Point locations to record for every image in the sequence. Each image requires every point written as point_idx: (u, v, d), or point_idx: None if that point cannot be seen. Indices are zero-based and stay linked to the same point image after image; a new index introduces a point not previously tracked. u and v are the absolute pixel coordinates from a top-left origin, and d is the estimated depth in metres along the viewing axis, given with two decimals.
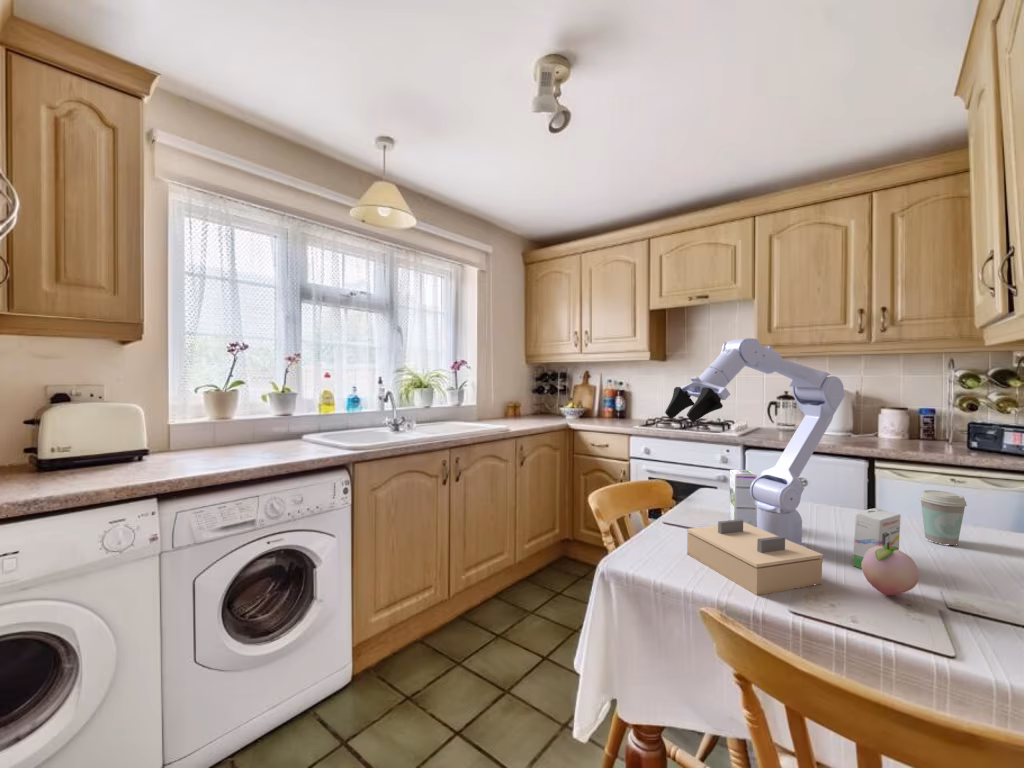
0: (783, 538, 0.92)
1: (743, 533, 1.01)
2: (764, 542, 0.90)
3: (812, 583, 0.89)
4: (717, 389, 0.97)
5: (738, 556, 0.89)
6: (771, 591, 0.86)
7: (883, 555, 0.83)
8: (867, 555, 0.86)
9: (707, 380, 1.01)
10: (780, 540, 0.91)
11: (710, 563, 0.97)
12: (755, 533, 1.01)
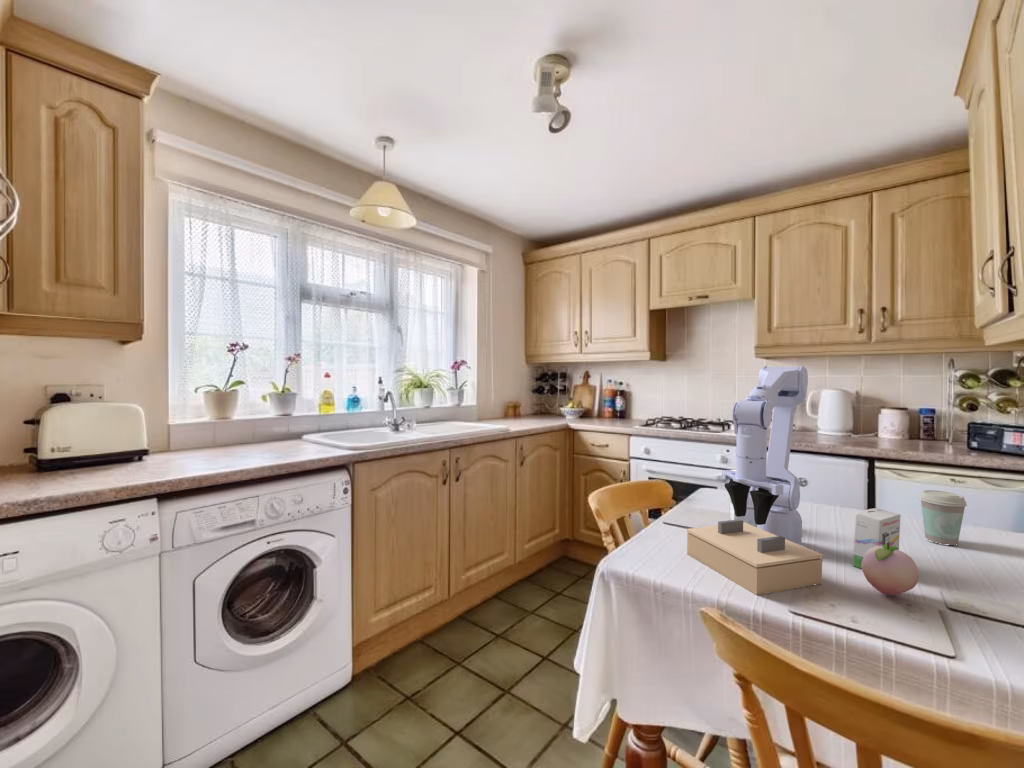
0: (783, 538, 0.92)
1: (743, 533, 1.01)
2: (764, 542, 0.90)
3: (812, 583, 0.89)
4: None
5: (738, 556, 0.89)
6: (771, 591, 0.86)
7: (883, 555, 0.83)
8: (867, 555, 0.86)
9: (749, 476, 0.94)
10: (780, 540, 0.91)
11: (710, 563, 0.97)
12: (755, 533, 1.01)
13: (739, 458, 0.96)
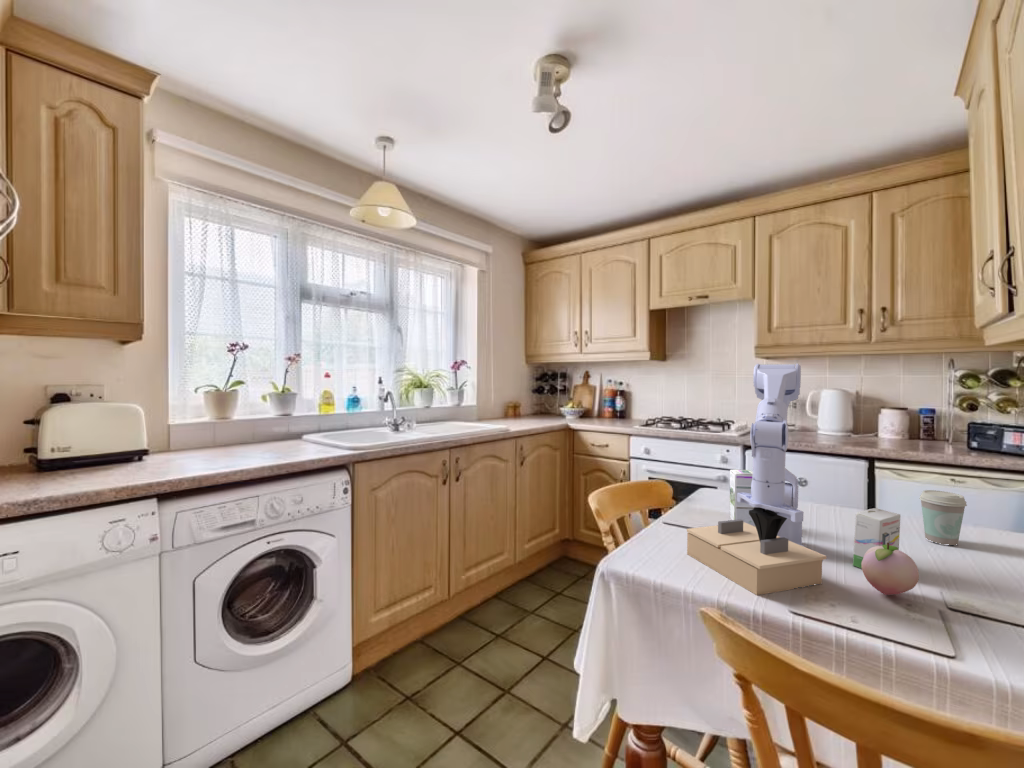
0: (786, 539, 0.91)
1: (743, 533, 1.01)
2: (767, 543, 0.90)
3: (812, 583, 0.89)
4: (787, 513, 0.87)
5: (741, 557, 0.88)
6: (771, 591, 0.86)
7: (883, 555, 0.83)
8: (867, 555, 0.86)
9: (767, 501, 0.90)
10: (783, 541, 0.91)
11: (710, 563, 0.97)
12: (755, 533, 1.01)
13: (756, 482, 0.92)
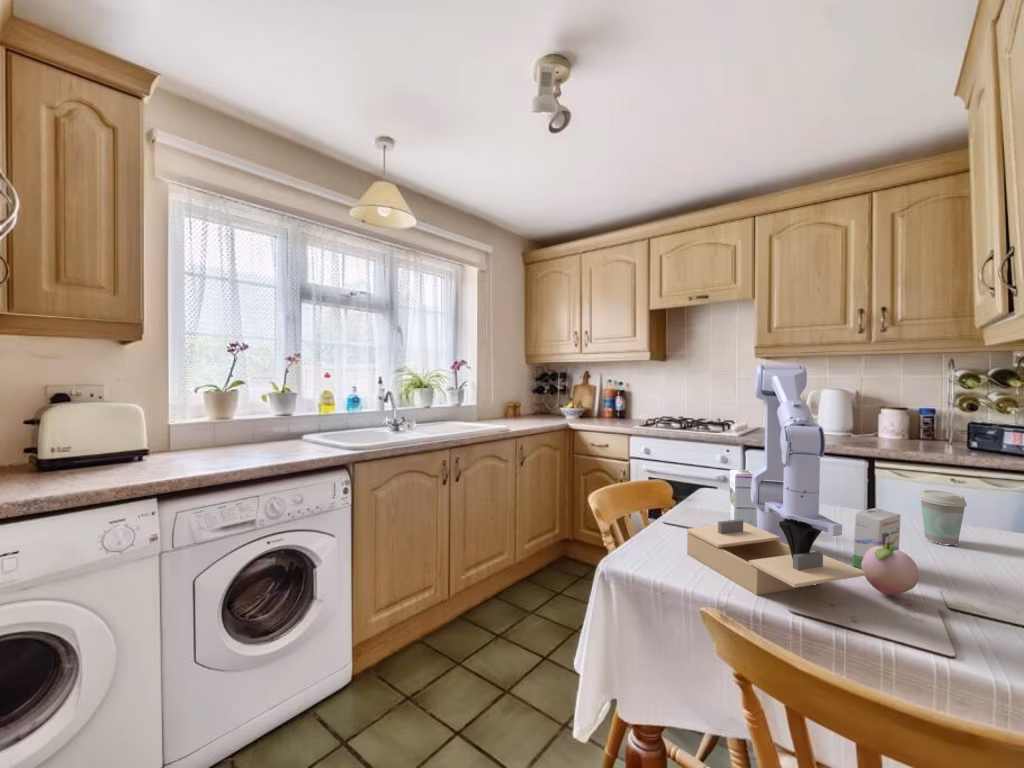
0: (821, 554, 0.84)
1: (743, 533, 1.01)
2: (801, 558, 0.82)
3: None
4: None
5: (773, 574, 0.81)
6: (771, 591, 0.86)
7: (883, 555, 0.83)
8: (867, 555, 0.86)
9: (800, 512, 0.83)
10: (818, 556, 0.84)
11: (710, 563, 0.97)
12: (755, 533, 1.01)
13: (788, 491, 0.84)
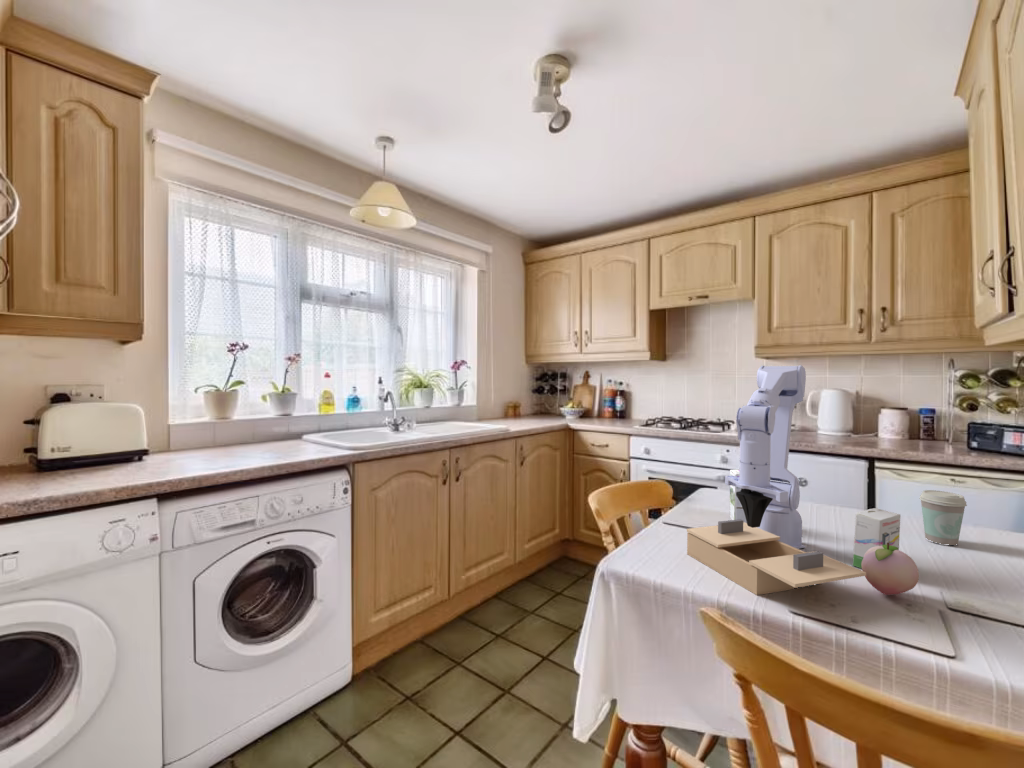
0: (821, 554, 0.84)
1: (743, 533, 1.01)
2: (801, 558, 0.82)
3: None
4: (772, 493, 0.90)
5: (773, 574, 0.81)
6: (771, 591, 0.86)
7: (883, 555, 0.83)
8: (867, 555, 0.86)
9: (753, 482, 0.93)
10: (818, 556, 0.84)
11: (710, 563, 0.97)
12: (755, 533, 1.01)
13: (743, 464, 0.95)
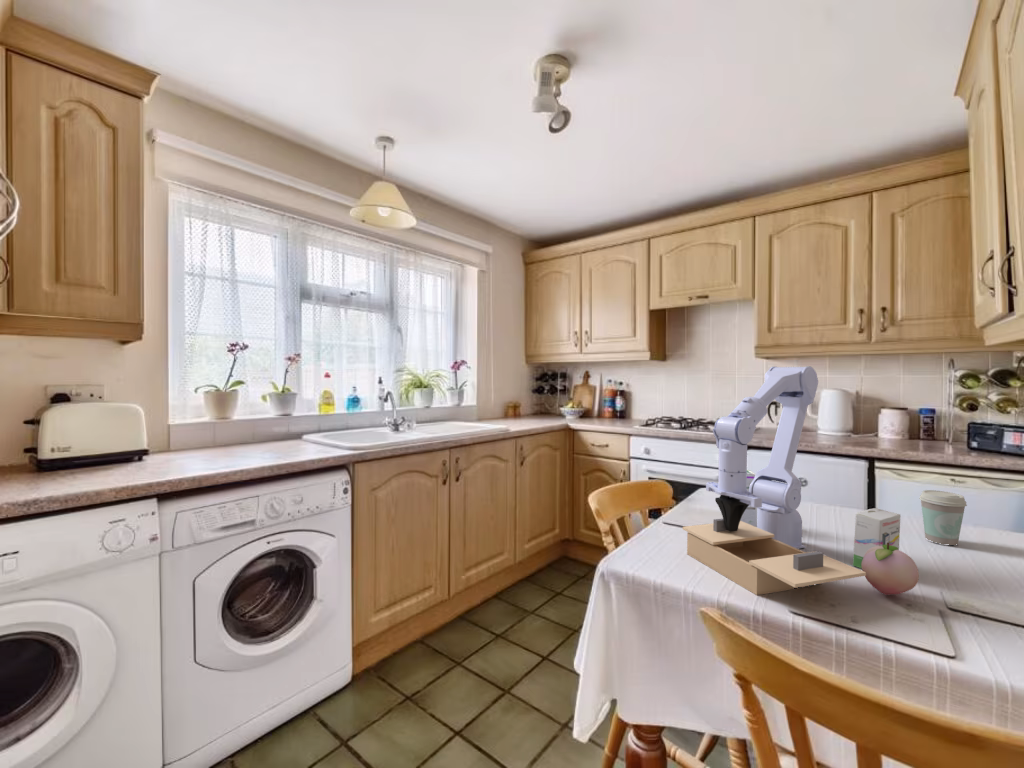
0: (821, 554, 0.84)
1: (738, 531, 1.03)
2: (801, 558, 0.82)
3: None
4: (747, 500, 0.96)
5: (773, 574, 0.81)
6: (771, 591, 0.86)
7: (883, 555, 0.83)
8: (867, 555, 0.86)
9: (730, 489, 0.99)
10: (818, 556, 0.84)
11: (710, 563, 0.97)
12: (750, 531, 1.03)
13: (721, 472, 1.01)
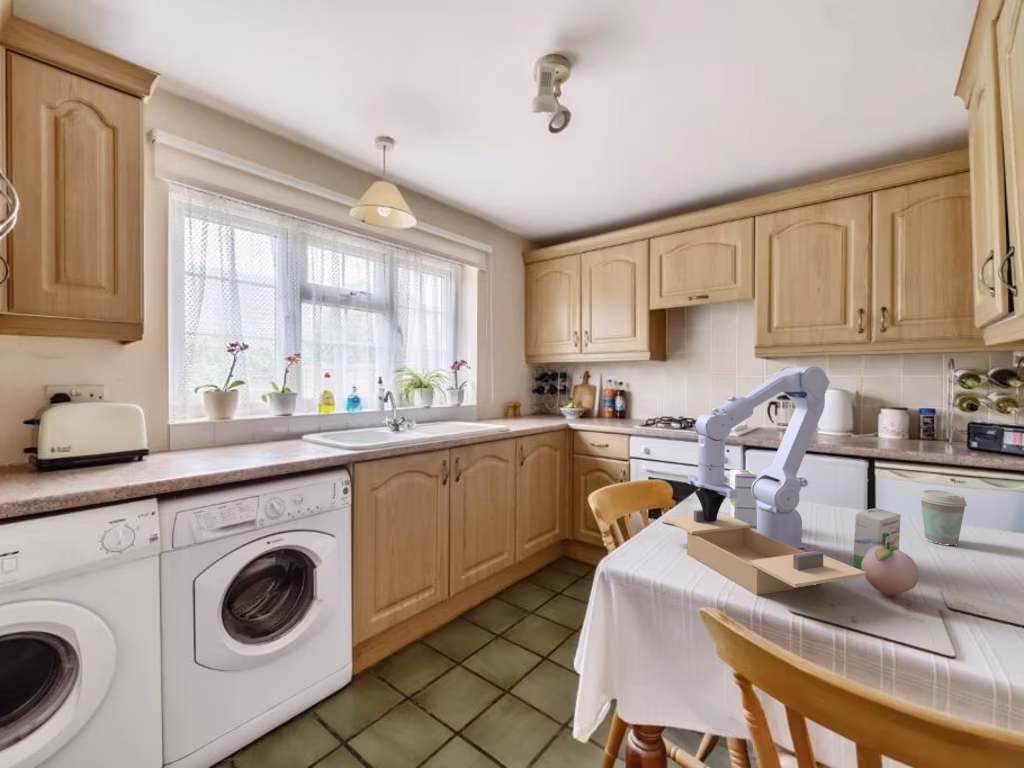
0: (821, 554, 0.84)
1: (717, 521, 1.09)
2: (801, 558, 0.82)
3: None
4: (724, 491, 1.02)
5: (773, 574, 0.81)
6: (771, 591, 0.86)
7: (883, 555, 0.83)
8: (867, 555, 0.86)
9: (709, 481, 1.06)
10: (818, 556, 0.84)
11: (710, 563, 0.97)
12: (728, 521, 1.09)
13: (700, 465, 1.07)
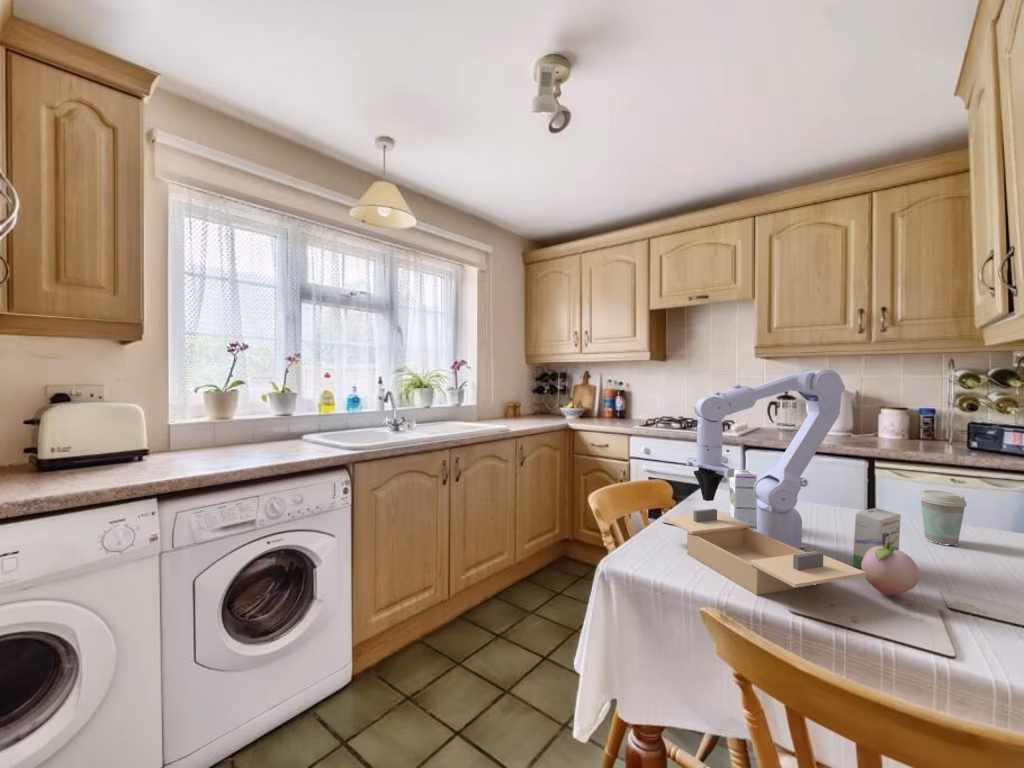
0: (821, 554, 0.84)
1: (717, 521, 1.09)
2: (801, 558, 0.82)
3: None
4: (721, 471, 1.06)
5: (773, 574, 0.81)
6: (771, 591, 0.86)
7: (883, 555, 0.83)
8: (867, 555, 0.86)
9: (707, 461, 1.09)
10: (818, 556, 0.84)
11: (710, 563, 0.97)
12: (728, 521, 1.09)
13: (699, 446, 1.11)
